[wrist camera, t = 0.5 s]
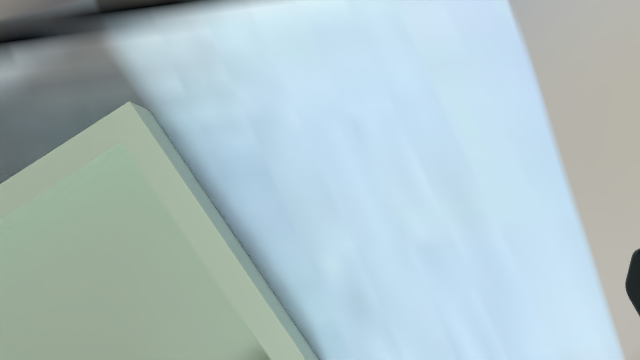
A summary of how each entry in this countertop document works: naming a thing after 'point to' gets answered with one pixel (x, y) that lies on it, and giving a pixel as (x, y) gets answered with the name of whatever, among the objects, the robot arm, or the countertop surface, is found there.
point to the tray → (128, 258)
